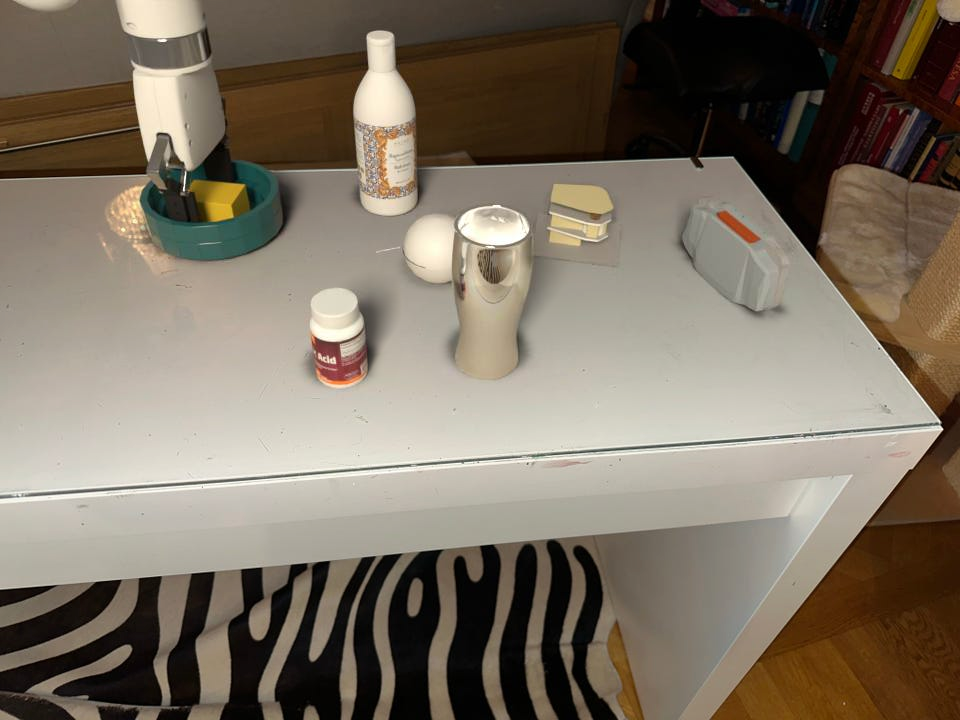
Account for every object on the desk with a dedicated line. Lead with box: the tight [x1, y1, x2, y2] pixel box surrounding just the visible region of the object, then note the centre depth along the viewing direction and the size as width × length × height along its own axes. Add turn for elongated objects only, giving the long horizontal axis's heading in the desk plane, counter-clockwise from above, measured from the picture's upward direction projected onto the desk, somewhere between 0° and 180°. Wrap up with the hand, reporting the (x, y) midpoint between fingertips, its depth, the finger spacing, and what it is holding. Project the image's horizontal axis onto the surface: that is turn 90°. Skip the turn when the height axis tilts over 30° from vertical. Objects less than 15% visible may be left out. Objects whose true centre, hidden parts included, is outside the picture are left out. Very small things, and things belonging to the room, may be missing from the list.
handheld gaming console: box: [681, 195, 791, 312], centre depth 79 cm, size 14×3×8 cm, turn 24°
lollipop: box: [376, 212, 456, 284], centre depth 79 cm, size 10×7×7 cm
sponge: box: [190, 180, 251, 223], centre depth 84 cm, size 6×4×4 cm
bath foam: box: [352, 30, 419, 217], centre depth 85 cm, size 7×7×20 cm
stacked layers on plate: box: [533, 183, 622, 268], centre depth 85 cm, size 10×9×6 cm
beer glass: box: [451, 203, 535, 381], centre depth 67 cm, size 7×7×15 cm
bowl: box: [139, 158, 284, 262], centre depth 85 cm, size 15×15×5 cm
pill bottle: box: [308, 287, 369, 389], centre depth 67 cm, size 5×5×8 cm
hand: (204, 201), depth 84 cm, fingers open, 9 cm apart
